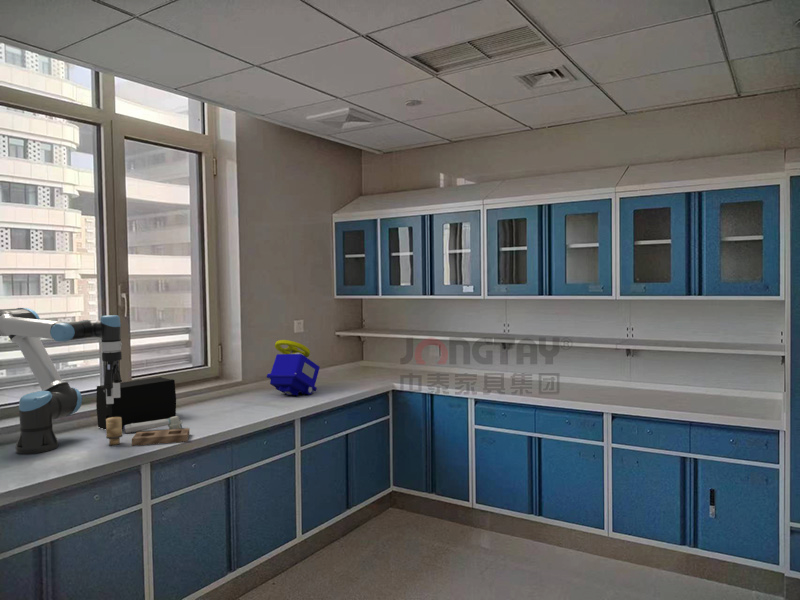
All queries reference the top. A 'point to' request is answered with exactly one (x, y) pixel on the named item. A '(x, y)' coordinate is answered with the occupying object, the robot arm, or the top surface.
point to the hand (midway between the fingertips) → (113, 400)
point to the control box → (293, 369)
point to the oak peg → (114, 430)
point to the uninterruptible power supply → (138, 401)
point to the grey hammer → (153, 425)
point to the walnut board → (160, 436)
